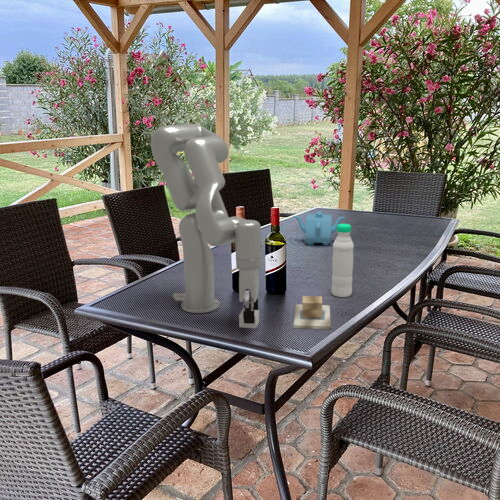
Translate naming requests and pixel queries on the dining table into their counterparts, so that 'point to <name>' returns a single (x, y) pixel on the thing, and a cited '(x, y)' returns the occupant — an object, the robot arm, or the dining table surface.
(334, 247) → the water bottle
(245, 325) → the grey block
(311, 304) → the oak block
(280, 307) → the dining table surface
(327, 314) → the board
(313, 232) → the teakettle
